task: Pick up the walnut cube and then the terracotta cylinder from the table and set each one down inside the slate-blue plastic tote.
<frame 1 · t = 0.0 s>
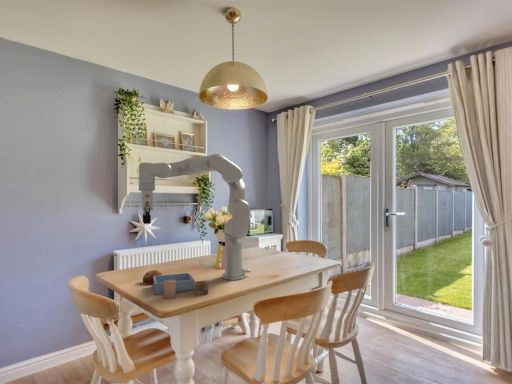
hand: (146, 222, 149), 31 cm above the table, tool pointing down, fingers open, 9 cm apart
terracotta cylinder: (169, 297, 134), on the table
walnut cube: (201, 293, 139), on the table
tote: (173, 288, 146), on the table
bread roll: (153, 282, 156), on the table
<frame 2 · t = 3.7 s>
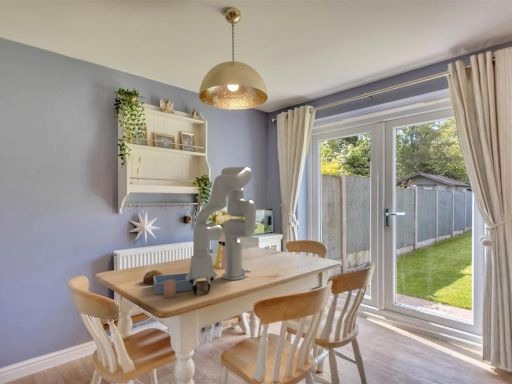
hand: (201, 292, 139), 0 cm above the table, tool pointing down, fingers closed on walnut cube, 5 cm apart
walnut cube: (201, 293, 139), on the table, touching gripper
everything else where it was.
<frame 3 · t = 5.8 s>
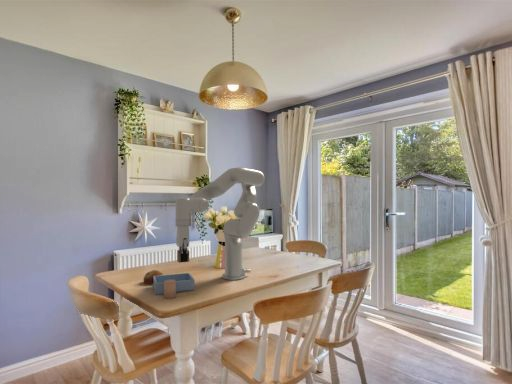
hand: (183, 260, 148), 13 cm above the table, tool pointing down, fingers closed on walnut cube, 5 cm apart
walnut cube: (183, 261, 148), point 13 cm above the table, touching gripper
everything else where it was.
when the fingers open (2 cm above the table, at t = 8.2 s): walnut cube drops 1 cm, resting on tote.
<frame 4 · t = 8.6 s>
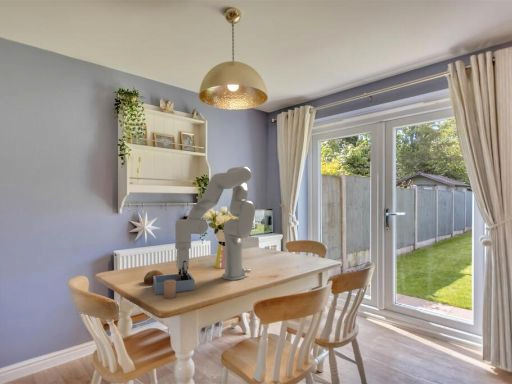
hand: (182, 281, 148), 3 cm above the table, tool pointing down, fingers open, 7 cm apart
walnut cube: (183, 285, 148), point 1 cm above the table, touching tote
everything else where it was.
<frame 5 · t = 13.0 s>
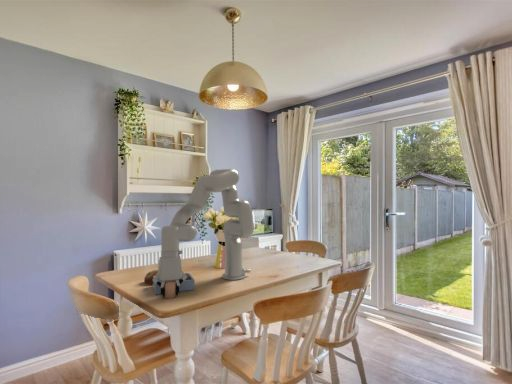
hand: (169, 294, 134), 1 cm above the table, tool pointing down, fingers closed on terracotta cylinder, 5 cm apart
terracotta cylinder: (169, 297, 134), on the table, touching gripper
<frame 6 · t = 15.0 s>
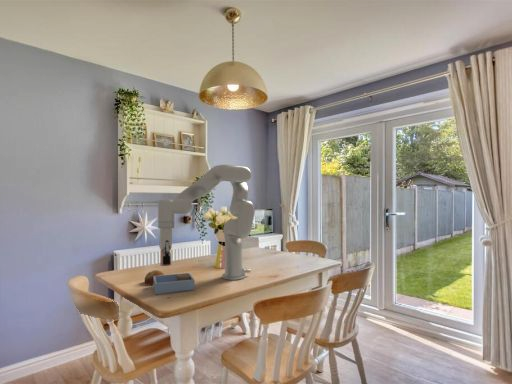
hand: (165, 262, 145), 13 cm above the table, tool pointing down, fingers closed on terracotta cylinder, 5 cm apart
terracotta cylinder: (165, 264, 145), point 12 cm above the table, touching gripper
when the fingers open (3 cm above the table, at t = 17.1 s): terracotta cylinder drops 1 cm, resting on tote.
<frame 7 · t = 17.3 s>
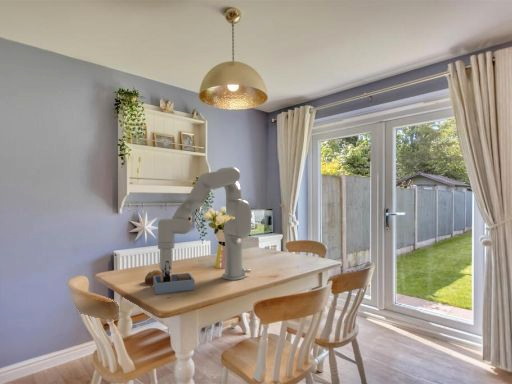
hand: (165, 282, 145), 3 cm above the table, tool pointing down, fingers open, 6 cm apart
terracotta cylinder: (166, 287, 145), point 1 cm above the table, touching tote
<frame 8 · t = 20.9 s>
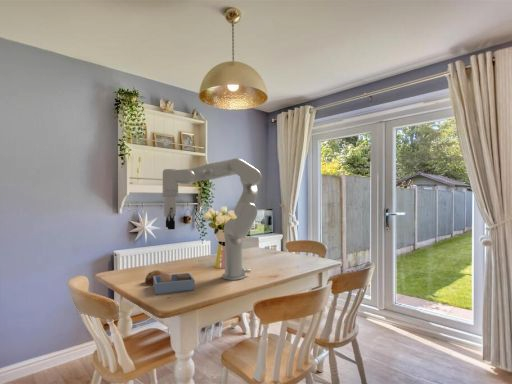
hand: (170, 228, 151), 28 cm above the table, tool pointing down, fingers open, 9 cm apart
at the end: walnut cube inside the target area on the tote (4.5 cm from its centre), point 0.6 cm above the tote's base; terracotta cylinder inside the target area on the tote (3.4 cm from its centre), point 0.6 cm above the tote's base; the gripper is holding nothing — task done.
